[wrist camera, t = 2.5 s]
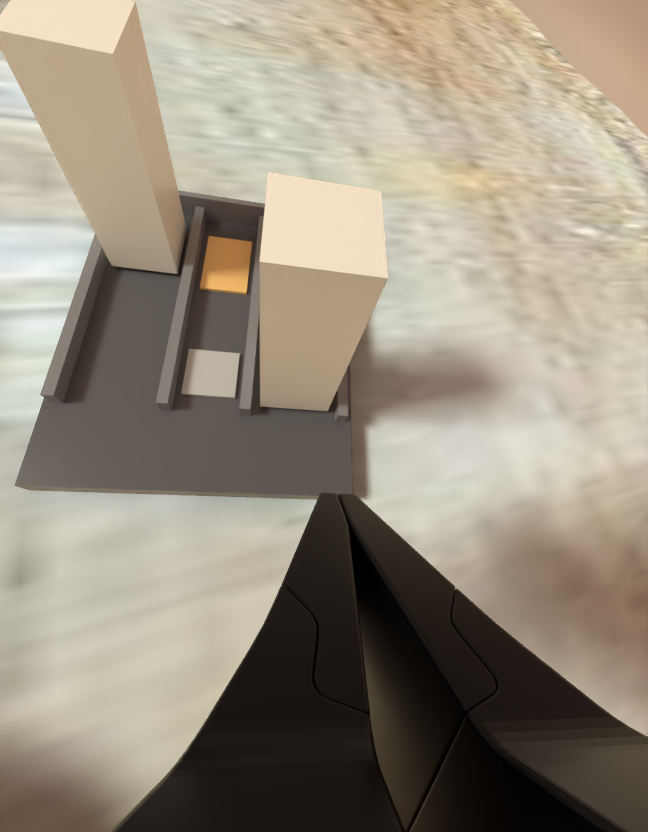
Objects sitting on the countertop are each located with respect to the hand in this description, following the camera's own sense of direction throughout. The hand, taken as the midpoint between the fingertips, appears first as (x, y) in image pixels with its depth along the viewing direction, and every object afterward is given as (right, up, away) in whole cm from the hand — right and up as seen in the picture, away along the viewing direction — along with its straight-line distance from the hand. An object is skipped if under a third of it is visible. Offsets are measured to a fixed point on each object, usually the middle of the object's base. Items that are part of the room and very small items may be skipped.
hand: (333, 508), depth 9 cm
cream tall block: (-2, +5, +13) cm, 14 cm away
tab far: (-12, +14, +15) cm, 23 cm away
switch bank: (-7, +7, +15) cm, 18 cm away
